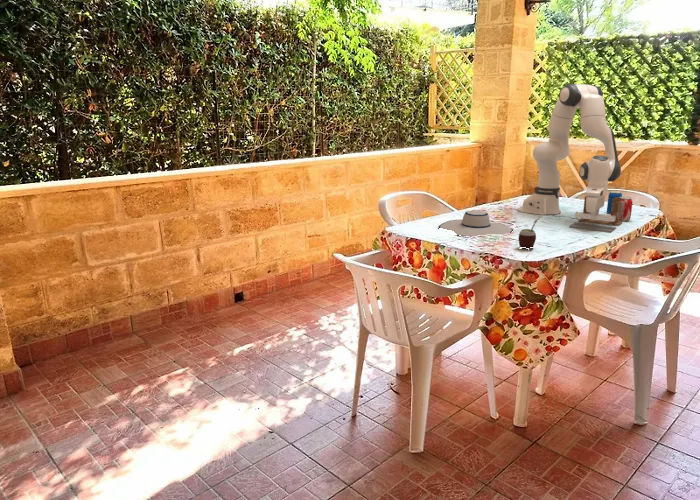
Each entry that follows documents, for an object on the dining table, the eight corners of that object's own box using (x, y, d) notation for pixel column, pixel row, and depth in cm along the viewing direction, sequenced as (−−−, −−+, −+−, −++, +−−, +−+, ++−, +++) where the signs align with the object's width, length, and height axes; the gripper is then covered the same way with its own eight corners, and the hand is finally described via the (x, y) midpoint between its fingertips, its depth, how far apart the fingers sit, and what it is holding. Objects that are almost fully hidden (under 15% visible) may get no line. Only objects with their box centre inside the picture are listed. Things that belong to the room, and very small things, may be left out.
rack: (578, 221, 267) (581, 196, 264) (582, 218, 273) (585, 194, 270) (618, 226, 256) (621, 200, 252) (622, 223, 262) (625, 197, 258)
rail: (574, 217, 256) (574, 213, 255) (576, 216, 258) (576, 211, 258) (614, 221, 245) (614, 216, 245) (615, 220, 248) (616, 215, 247)
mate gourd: (515, 246, 225) (517, 212, 220) (533, 246, 225) (535, 212, 221) (521, 251, 217) (524, 216, 213) (540, 250, 218) (543, 216, 214)
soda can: (632, 222, 263) (635, 199, 260) (617, 221, 264) (619, 198, 261) (627, 219, 270) (630, 196, 266) (613, 218, 271) (615, 196, 268)
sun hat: (423, 229, 262) (423, 211, 260) (472, 219, 282) (473, 202, 279) (478, 243, 233) (479, 223, 231) (529, 231, 253) (530, 212, 251)
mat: (569, 227, 255) (569, 225, 255) (575, 223, 263) (575, 222, 263) (610, 232, 244) (611, 231, 244) (615, 228, 251) (616, 226, 251)
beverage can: (606, 214, 281) (609, 192, 278) (606, 212, 287) (608, 190, 284) (620, 215, 279) (622, 193, 276) (619, 212, 285) (621, 191, 281)
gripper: (595, 186, 258) (592, 214, 262) (584, 192, 242) (581, 221, 246) (609, 187, 254) (606, 215, 258) (599, 193, 239) (596, 223, 242)
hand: (594, 218), depth 252 cm, fingers closed on rail, 3 cm apart
